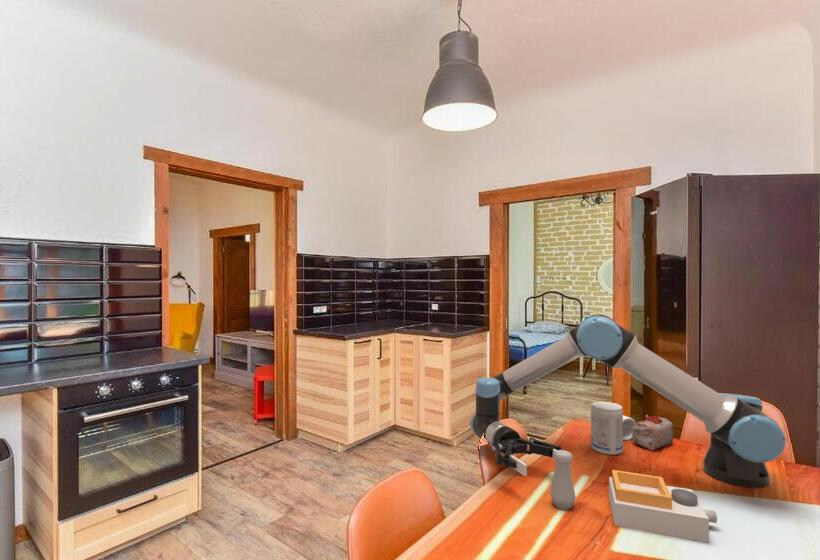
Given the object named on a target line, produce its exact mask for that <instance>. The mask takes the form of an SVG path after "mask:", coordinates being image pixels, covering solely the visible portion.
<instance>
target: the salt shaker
mask: <svg viewBox="0 0 820 560" xmlns="http://www.w3.org/2000/svg"><path fill="white" fill-rule="evenodd" d="M573 459H574V458H573V454H572V453H571V452H570V451H567V450H564V449H561V450H557V451H556V452H555V453H554V461H555V467H554V473H553V477H552V483H551V486H550V487H551V488H550V493H549V494H550V497H551V501H552V502H553V505H554V506H555V507H556V508H558V509H562V510H565V511H566V510H571V509H572V508H573V505H574V503H575V502H576V498H577V497H576V492H575V487H574V480H573V476H572V470H571V469H570V464H571V465H572V463H573Z"/></svg>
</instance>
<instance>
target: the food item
mask: <svg viewBox="0 0 820 560" xmlns="http://www.w3.org/2000/svg"><path fill="white" fill-rule="evenodd" d="M644 418H645V420H644V421H643V420H640V421H638V422H635V423H636V425H635V426H634V427H633V428H632V429H633V433H632V436H633V438H632V439H631V440H632V441H633V442H634V443H635V444H636V445H638V446H639V447H642V448H644V449H646V450H649V451H655V450H658V449H660V448H662V447H666V446H668V445H672V444H674V430H673V429H674V426H673V422H672V421H670V420H669V419H667V418H665V417H660V416H656V415H655V416H653V415H652V416H650V415H648V414H646V415H645V417H644Z"/></svg>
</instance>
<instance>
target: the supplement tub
mask: <svg viewBox="0 0 820 560" xmlns="http://www.w3.org/2000/svg"><path fill="white" fill-rule="evenodd" d="M623 415H624V412H623V406H622V405H620V404H619V403H614V402H610V401H593V402H592V403H591V407H590V446H591V448H592V450H593V451H595V452H598V453H600V454H604V455H610V456H611V455H612V456H614V455H615V456H616V455H620V454H622V453H623V451H624V440H623Z"/></svg>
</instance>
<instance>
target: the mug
mask: <svg viewBox="0 0 820 560" xmlns="http://www.w3.org/2000/svg"><path fill="white" fill-rule="evenodd" d="M636 423H637V422H636V421H635V420H634V418H632V417H628V416H626V415H624V414H623V441H625V440H627V441H631V440H633V439H632V438H633V436H632V433H633V429H632V428H633V427H634V426H635V425H636Z"/></svg>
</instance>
